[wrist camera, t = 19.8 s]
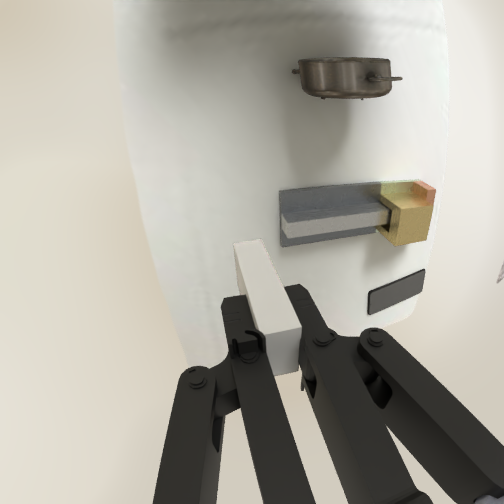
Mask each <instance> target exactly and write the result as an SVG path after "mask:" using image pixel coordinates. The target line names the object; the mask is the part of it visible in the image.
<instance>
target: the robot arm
mask: <svg viewBox="0 0 504 504" xmlns="http://www.w3.org/2000/svg"><path fill="white" fill-rule="evenodd" d="M233 246H234V255H235V264H236V273H237V282H238V287H239V291H240V295H239V296H233V297H227V298H224V299H223V302H222V305H221V310H222V316H223V322H224V327H225V333H226V338H227V343H228V349H229V352H228V355H227V357H226V358H225V360H224V361H223V362H221V363H220V364H218V365H216V366H214V367H212V368H210V369H209V368H207V367H203V366H194V367H191V368H188V369H186V370H185V371H184V372H183V373H182V374H181V376H180V378H179V381H178V385H177V390H176V394H175V398H174V403H173V407H172V412H171V416H170V420H169V425H168V430H167V434H166V439H165V444H164V448H163V453H162V458H161V463H160V468H159V473H158V478H157V483H156V489H155V494H154V499H153V504H216V500H217V491H218V481H219V471H220V462H221V452H222V443H223V433H224V424H225V415H227V414H229V413H231V412H233V411H235V410H237V409H239V408H241V412H242V417H243V421H244V426H245V430H246V434H247V439H248V443H249V447H250V451H251V456H252V460H253V464H254V468H255V472H256V476H257V480H258V484H259V488H260V492H261V496H262V500H263V504H316V503H315V500H314V497H313V494H312V491H311V488H310V485H309V482H308V479H307V476H306V473H305V470H304V467H303V464H302V461H301V458H300V455H299V452H298V449H297V446H296V443H295V440H294V437H293V434H292V431H291V428H290V424H289V421H288V418H287V415H286V412H285V409H284V406H283V403H282V400H281V397H280V393H279V390H278V388H277V384H276V381H275V378H274V376H278V375H283V374H287V373H291V372H296V371H298V369H299V365H300V368H301V370H302V380H301V391H304V387H305V390H306V392H307V395H308V398H309V400H310V403H311V405H312V408H313V411H314V413H315V416H316V419H317V421H318V424H319V427H320V429H321V432H322V435H323V437H324V440H325V443H326V445H327V448H328V451H329V453H330V456H331V458H332V461H333V464H334V466H335V469H336V472H337V474H338V477H339V479H340V482H341V485H342V487H343V490H344V493H345V495H346V498H347V501H348V503H349V504H433V502H432V500H431V499H430V497H429V496H428V495H427V494H426V493H424V492H421V491H419V490H418V489H417V488H416V486H415V485H414V483H413V480H412V478H411V476H410V474H409V472H408V470H407V468H406V466H405V464H404V462H403V460H402V457H401V455H400V453H399V451H398V449H397V447H396V445H395V443H394V441H393V439H392V437H391V435H390V433H389V431H388V429H387V427H388V428H389V429H390V430H391V431H392V432H393V434H394V435H395V436H396V437H397V438H398V439H399V440H400V441H401V443H402V444H403V445H404V446H405V447H406V448H407V450H409V452H410V453H411V454H412V455H413V456H414V458H415V459H416V460H417V461H418V462H419V463H420V464H421V465H422V466H423V468H424V469H425V470H426V471H427V472H428V473H429V474H430V476H431V477H432V478H433V479H434V480H435V481H436V482H437V483H438V484H439V486H440V487H441V488H442V489H443V490H444V491H445V492H446V493H447V495H448V496H449V497H450V498H452V500H453V501H454V502H456V503H457V504H504V446H503V445H502V444H501V443H500V442H499V441H498V440H497V439H496V438H495V437H494V436H493V435H492V434H491V433H490V432H489V431H488V430H487V429H486V427H484V426H483V424H481V422H480V421H478V420H477V418H476V417H475V416H474V415H473V414H472V413H471V412H470V411H469V410H468V409H467V408H466V407H464V405H462V403H461V402H459V401H458V400H457V398H455V397H454V396H453V395H452V394H451V393H450V392H449V391H448V390H447V389H446V388H445V387H444V386H443V385H442V384H441V383H440V382H439V381H438V380H437V379H436V378H435V377H434V376H433V375H432V374H431V373H430V372H429V371H428V370H427V369H426V368H424V367H423V366H422V365H421V364H420V363H419V362H418V361H417V360H416V359H415V358H414V357H413V356H412V355H411V354H410V353H409V352H408V351H407V350H406V349H404V348H403V347H402V346H401V345H400V344H399V343H398V342H397V341H396V340H395V339H393V337H392V336H391V335H389V334H388V333H387V332H386V331H384V330H383V329H379V328H368V329H365V330H364V331H363V332H362V333H361V335H360V337H346V336H340V335H338V334H337V333H336V332H335V331H333V330H331V329H329V328H328V327H327V325H326V323H325V321H324V320H323V318H322V316H321V314H320V312H319V310H318V308H317V307H316V305H315V303H314V301H313V299H312V297H311V295H310V294H309V292H308V290H307V289H306V288H304V287H303V286H302V285H300V284H297V285H291V286H286V287H283V284H282V282H281V280H280V278H279V276H278V274H277V271H276V269H275V267H274V265H273V263H272V261H271V258H270V256H269V254H268V252H267V250H266V248H265V245H264V243H263V241H262V239H257V240H251V241H244V242H238V243H233ZM385 424H386V425H385ZM386 426H387V427H386Z"/></svg>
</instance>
